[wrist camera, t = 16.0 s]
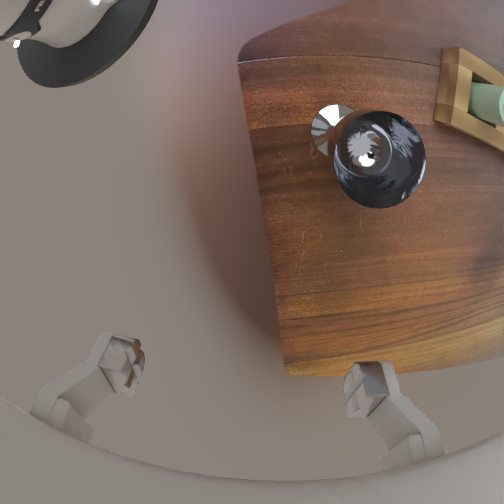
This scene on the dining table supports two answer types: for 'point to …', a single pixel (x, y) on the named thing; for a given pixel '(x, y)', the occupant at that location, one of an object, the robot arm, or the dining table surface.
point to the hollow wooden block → (466, 95)
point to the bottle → (487, 102)
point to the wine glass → (370, 153)
